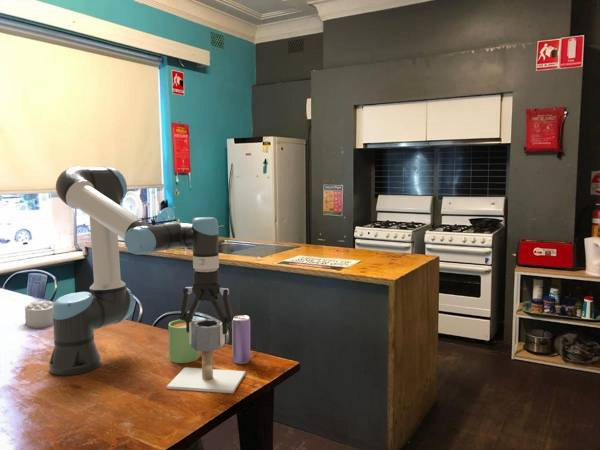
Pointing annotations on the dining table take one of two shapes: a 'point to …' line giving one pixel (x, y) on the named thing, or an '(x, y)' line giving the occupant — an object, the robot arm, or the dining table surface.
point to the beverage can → (241, 339)
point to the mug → (180, 343)
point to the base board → (220, 383)
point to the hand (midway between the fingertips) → (207, 343)
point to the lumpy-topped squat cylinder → (39, 314)
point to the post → (207, 365)
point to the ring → (205, 335)
